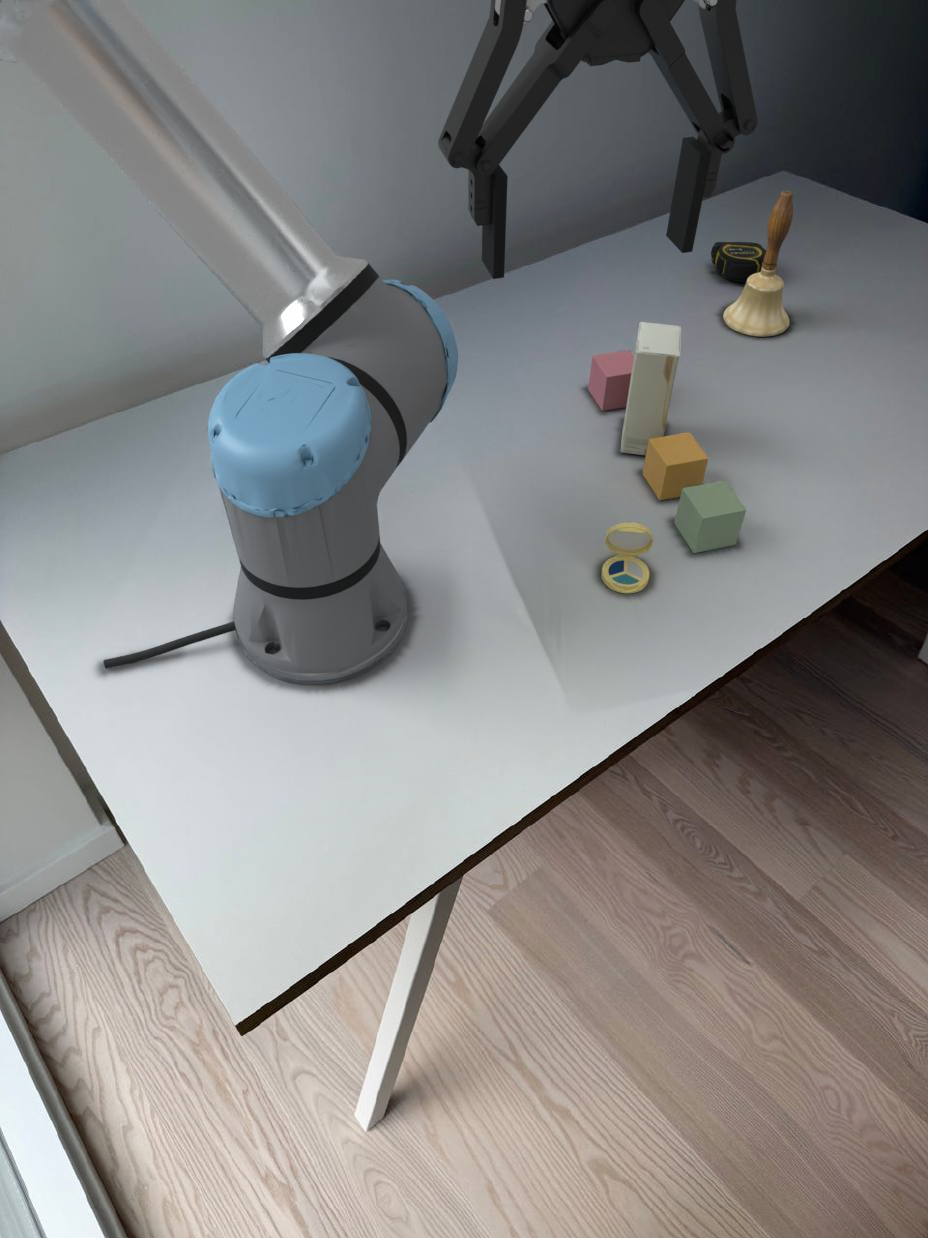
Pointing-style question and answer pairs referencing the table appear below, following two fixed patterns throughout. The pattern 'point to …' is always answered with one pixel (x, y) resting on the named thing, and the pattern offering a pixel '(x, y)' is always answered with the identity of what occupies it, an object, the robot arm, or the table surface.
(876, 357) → the table surface
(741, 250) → the tape measure
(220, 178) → the robot arm
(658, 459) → the colored toy blocks
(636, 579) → the eyeshadow
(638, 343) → the cosmetic box
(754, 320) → the hand bell
